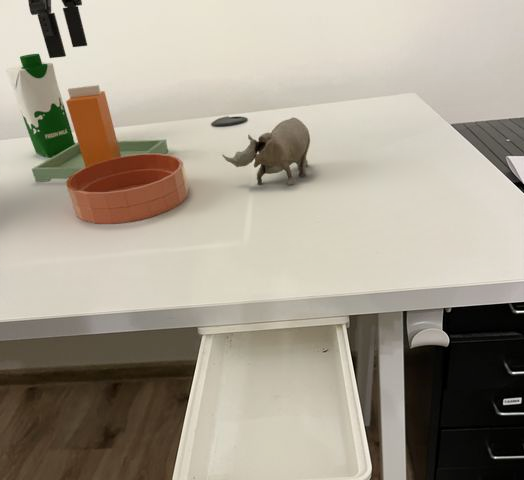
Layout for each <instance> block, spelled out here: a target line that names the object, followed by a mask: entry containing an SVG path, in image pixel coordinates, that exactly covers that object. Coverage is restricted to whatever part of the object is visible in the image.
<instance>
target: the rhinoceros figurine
mask: <svg viewBox="0 0 524 480" xmlns="http://www.w3.org/2000/svg"><path fill="white" fill-rule="evenodd" d="M310 135H311V134H310V132H309V129H308V127H307V126H306V124H304V122H303V121H301V120H300V119H298V118H297V117H294V116H293V117H291V118H288V119H285V120H282V121H280V122H279V123H278V124H277V125H276V126H275V127H274V128H273V129H272V131H271V132H265V133H263V134H261V135H259V137H258V138H257V139H258V140H257V139H254V138H253V137H252V135H250V134H248V135H247V139H248V140H249V144H248V146H247V147H246V148H245V149H244V150H242V151H236V152H235V155H234V156H232V157H229V156H226V155H225V154H224V153H222V154H221V155H222V158H224V160H225V161H226V162H228V163H231V164H232V165H233V166H235V167H236V168H241V167H247V166H249V165H250V164H251V163H253V162H254V163H253V167H254V168H258V167H259V168H258V170H257V172H256V180H257V185H259V186H261V185H263V180H262V177H263V176H265V174H266V175H272V174H273V175H274V174H278V173H280V172H283V171H285V172H286V177H287V183H286V185H288V186H293V184H294V177H293V173H292V171H291V165H293V164H296V166H297V169H298V176H299V177H300V178H302V179H303V178H306V177H309V174H308V172H307V170H306V168H307V167H309V161H308V159H307V155H308V152H309V149H310V144H311V136H310Z"/></svg>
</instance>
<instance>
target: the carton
mask: <svg viewBox="0 0 524 480" xmlns="http://www.w3.org/2000/svg"><path fill="white" fill-rule="evenodd" d="M67 92H68V96H69V98H68V99H67V100H65V102H66V106H67V109H68V113H69V116H70V119H71V123H72V127H73V129H74V133H75V137H76V140H77V143H79V147H80V150H81V154H82V157H83V160H84V164H85V167H87V166H89V165H92V164H95V163H98V162H101V161H104V160H108V159H112V158H117V157H121V154H120V150H119V146H118V142H117V141H118V139H117V138H118V137H117V134H116V131H115V127H114V123H113V119H112V116H111V111H110V107H109V103H108V100H107V96H106V92H105V90H102V91H101V89H100V85H99V84H95V85H87V86H86V85H85V86H77V87H69V88H68V89H67Z"/></svg>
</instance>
